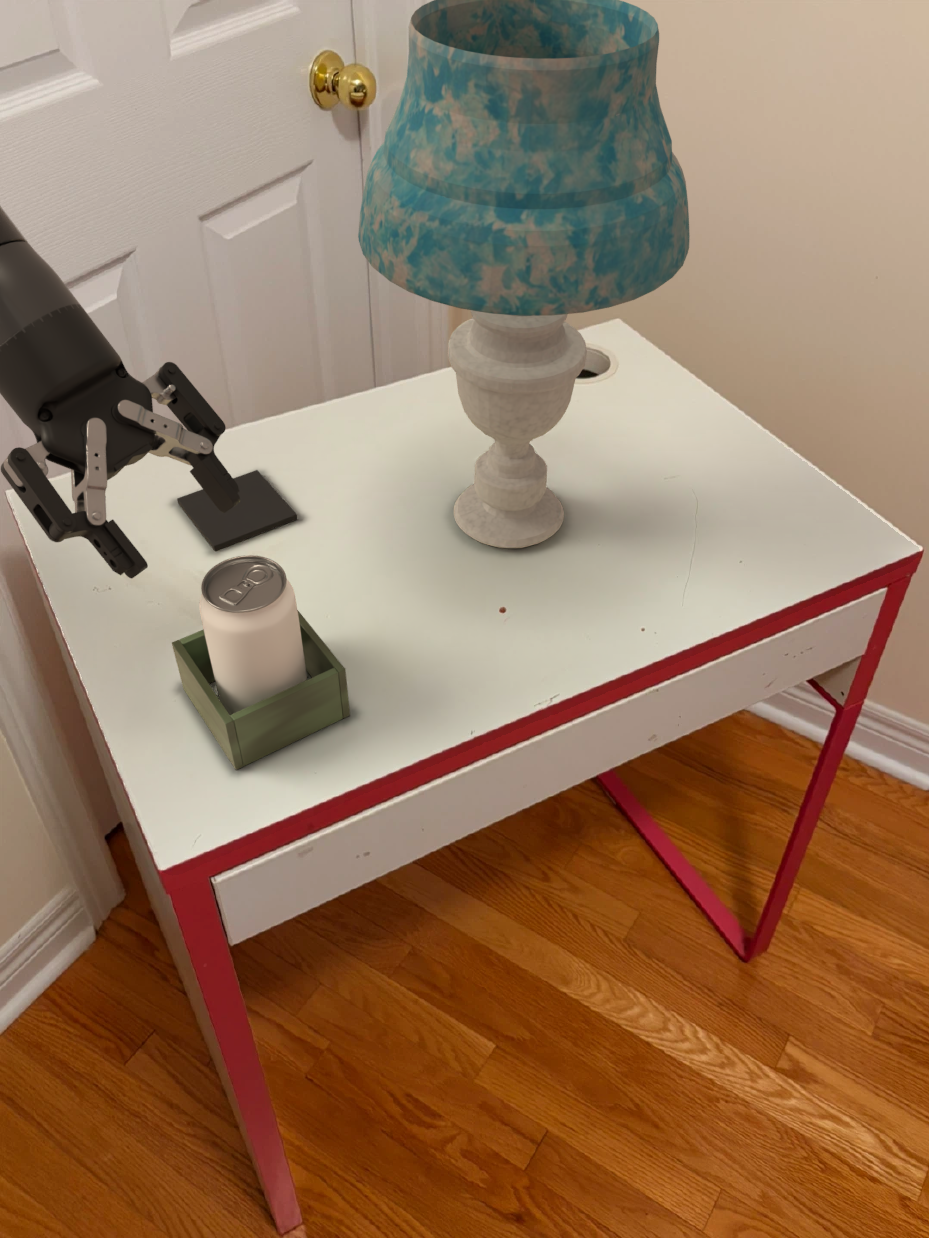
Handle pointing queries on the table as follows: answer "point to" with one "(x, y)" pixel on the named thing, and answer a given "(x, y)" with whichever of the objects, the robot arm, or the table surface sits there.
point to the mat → (238, 512)
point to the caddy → (266, 700)
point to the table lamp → (524, 214)
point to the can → (251, 630)
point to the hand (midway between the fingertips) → (188, 538)
